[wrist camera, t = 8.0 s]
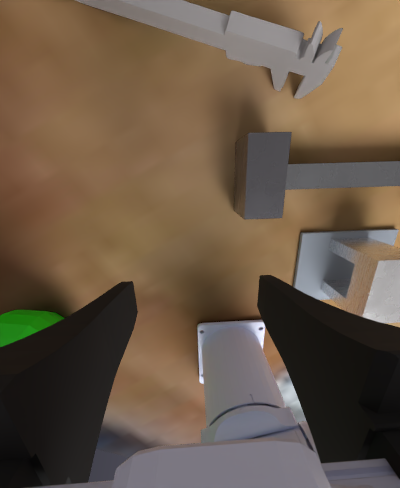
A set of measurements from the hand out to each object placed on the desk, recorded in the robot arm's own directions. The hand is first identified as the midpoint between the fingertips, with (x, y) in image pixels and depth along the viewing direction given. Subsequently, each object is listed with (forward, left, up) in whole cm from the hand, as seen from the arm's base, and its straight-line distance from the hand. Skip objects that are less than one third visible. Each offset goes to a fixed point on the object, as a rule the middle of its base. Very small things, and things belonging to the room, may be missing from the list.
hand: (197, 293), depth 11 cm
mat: (-4, -16, -9) cm, 19 cm away
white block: (-3, -16, -9) cm, 19 cm away
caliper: (+16, 0, -10) cm, 19 cm away
